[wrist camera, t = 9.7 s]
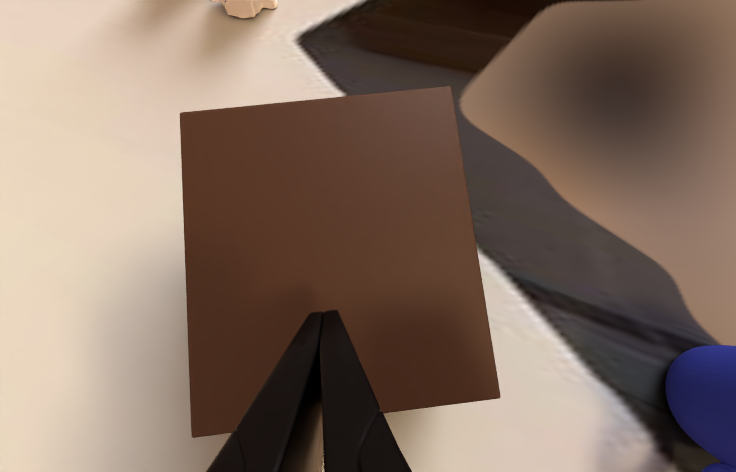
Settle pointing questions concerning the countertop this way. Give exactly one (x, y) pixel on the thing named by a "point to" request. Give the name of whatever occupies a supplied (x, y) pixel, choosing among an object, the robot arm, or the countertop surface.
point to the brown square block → (332, 248)
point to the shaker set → (246, 7)
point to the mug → (706, 400)
